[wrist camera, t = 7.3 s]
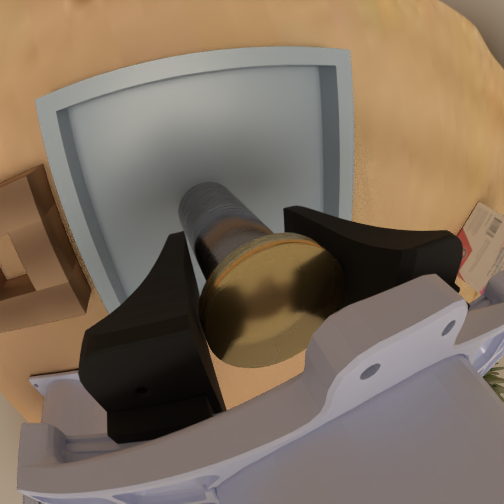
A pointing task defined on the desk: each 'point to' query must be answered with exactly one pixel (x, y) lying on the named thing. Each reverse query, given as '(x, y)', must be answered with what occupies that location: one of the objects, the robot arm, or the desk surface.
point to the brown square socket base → (38, 257)
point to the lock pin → (256, 280)
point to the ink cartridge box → (482, 247)
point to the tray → (196, 148)
